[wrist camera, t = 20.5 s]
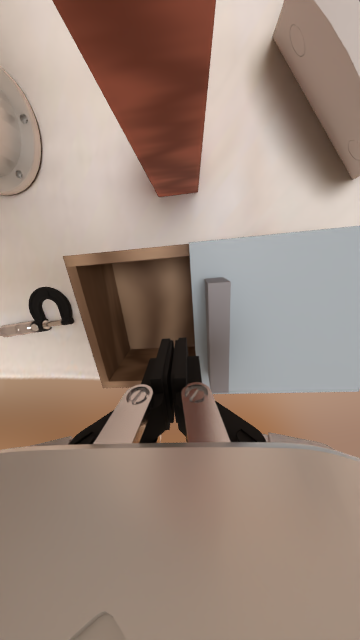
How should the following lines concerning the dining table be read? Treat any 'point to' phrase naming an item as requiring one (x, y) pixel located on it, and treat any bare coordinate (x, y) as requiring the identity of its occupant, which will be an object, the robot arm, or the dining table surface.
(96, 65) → the peg
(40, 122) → the dining table surface
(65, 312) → the micrometer
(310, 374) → the lid
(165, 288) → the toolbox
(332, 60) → the white curved piece
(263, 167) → the dining table surface
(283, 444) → the robot arm
